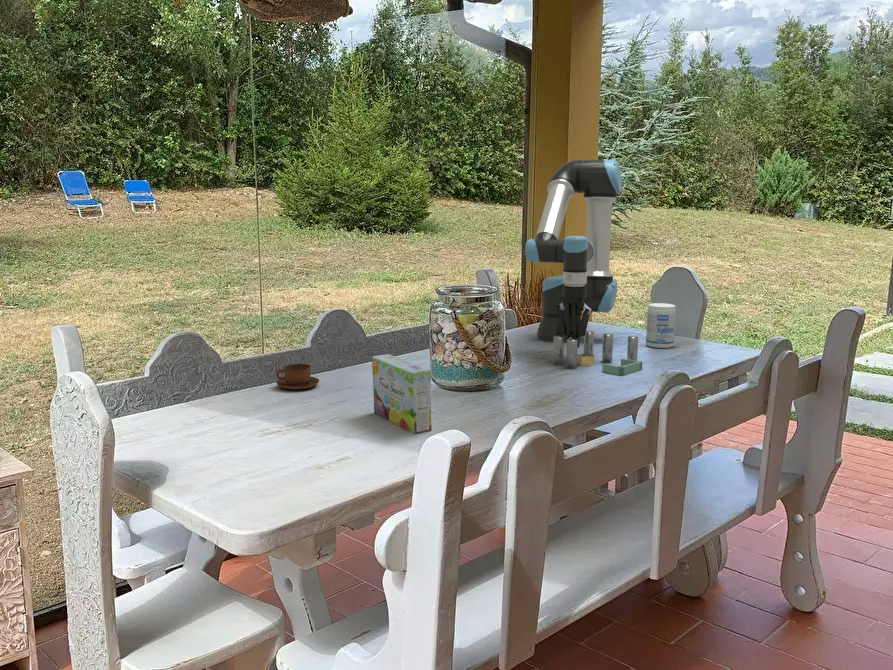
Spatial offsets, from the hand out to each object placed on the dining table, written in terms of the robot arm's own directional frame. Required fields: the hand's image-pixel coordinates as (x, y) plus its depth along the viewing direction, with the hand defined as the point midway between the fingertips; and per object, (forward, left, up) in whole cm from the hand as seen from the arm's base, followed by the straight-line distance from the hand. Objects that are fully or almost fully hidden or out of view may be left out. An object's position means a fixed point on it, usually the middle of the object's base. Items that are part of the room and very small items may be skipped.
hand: (572, 357), depth 274 cm
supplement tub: (+7, +42, -2) cm, 43 cm away
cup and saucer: (-38, -81, -2) cm, 89 cm away
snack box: (+9, -84, -2) cm, 84 cm away
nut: (+5, 0, -2) cm, 5 cm away
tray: (+19, 0, -2) cm, 19 cm away
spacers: (+7, +1, -2) cm, 8 cm away
